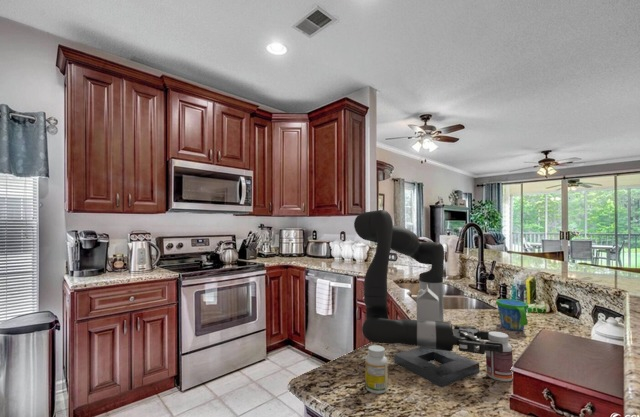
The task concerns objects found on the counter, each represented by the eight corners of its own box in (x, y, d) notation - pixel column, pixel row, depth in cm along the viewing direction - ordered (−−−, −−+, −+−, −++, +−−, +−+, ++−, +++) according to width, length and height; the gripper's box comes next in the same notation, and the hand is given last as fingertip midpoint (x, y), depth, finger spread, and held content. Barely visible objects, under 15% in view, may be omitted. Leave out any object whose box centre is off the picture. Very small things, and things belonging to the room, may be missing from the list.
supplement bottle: (380, 396, 72) (380, 354, 73) (361, 389, 76) (361, 348, 76) (391, 387, 76) (391, 347, 77) (372, 380, 80) (372, 342, 80)
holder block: (394, 363, 90) (394, 354, 90) (430, 351, 98) (430, 343, 99) (441, 387, 76) (441, 377, 77) (479, 372, 85) (479, 362, 85)
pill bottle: (518, 378, 81) (516, 335, 82) (505, 384, 78) (504, 340, 79) (493, 369, 87) (492, 329, 87) (481, 374, 83) (480, 332, 84)
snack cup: (538, 336, 114) (537, 307, 114) (507, 334, 115) (506, 306, 116) (517, 323, 129) (516, 298, 130) (490, 321, 131) (489, 297, 131)
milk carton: (438, 340, 109) (437, 285, 110) (439, 347, 102) (438, 288, 103) (417, 337, 111) (416, 283, 112) (416, 344, 104) (416, 287, 106)
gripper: (434, 329, 81) (505, 336, 76) (433, 314, 95) (492, 320, 90) (435, 358, 81) (505, 367, 76) (433, 339, 95) (493, 346, 89)
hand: (498, 341), depth 83 cm, fingers open, 8 cm apart
